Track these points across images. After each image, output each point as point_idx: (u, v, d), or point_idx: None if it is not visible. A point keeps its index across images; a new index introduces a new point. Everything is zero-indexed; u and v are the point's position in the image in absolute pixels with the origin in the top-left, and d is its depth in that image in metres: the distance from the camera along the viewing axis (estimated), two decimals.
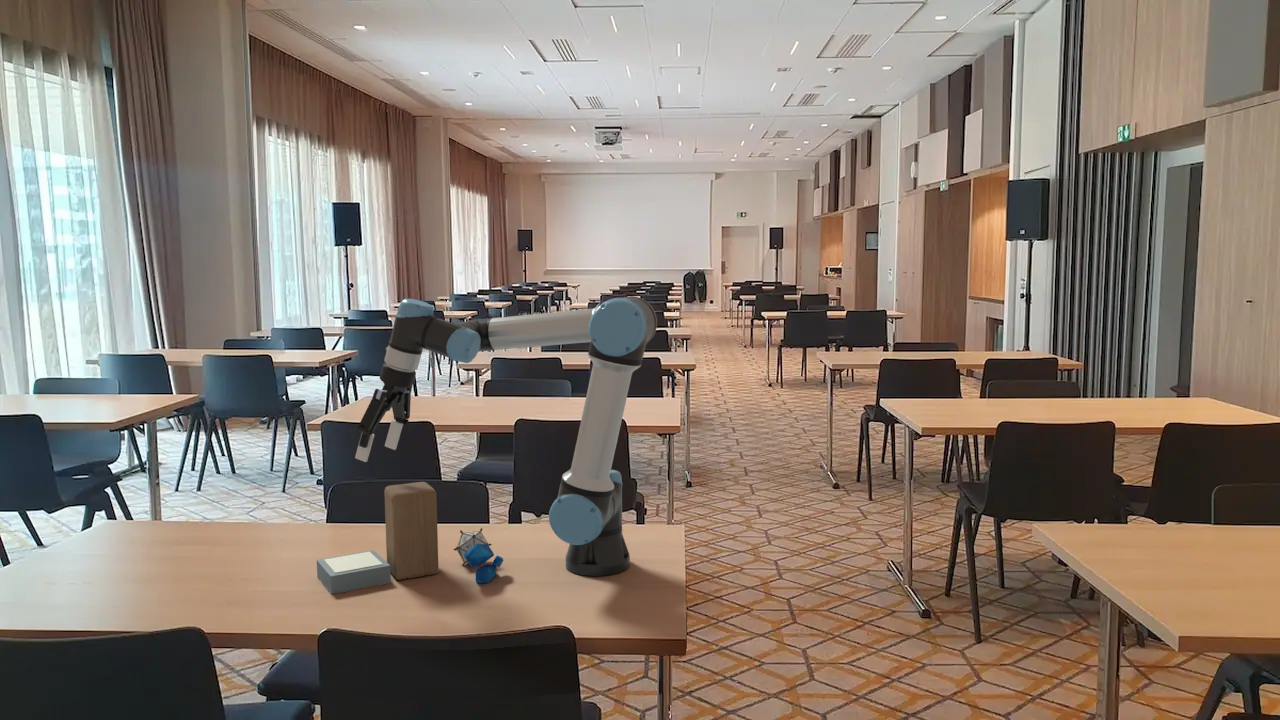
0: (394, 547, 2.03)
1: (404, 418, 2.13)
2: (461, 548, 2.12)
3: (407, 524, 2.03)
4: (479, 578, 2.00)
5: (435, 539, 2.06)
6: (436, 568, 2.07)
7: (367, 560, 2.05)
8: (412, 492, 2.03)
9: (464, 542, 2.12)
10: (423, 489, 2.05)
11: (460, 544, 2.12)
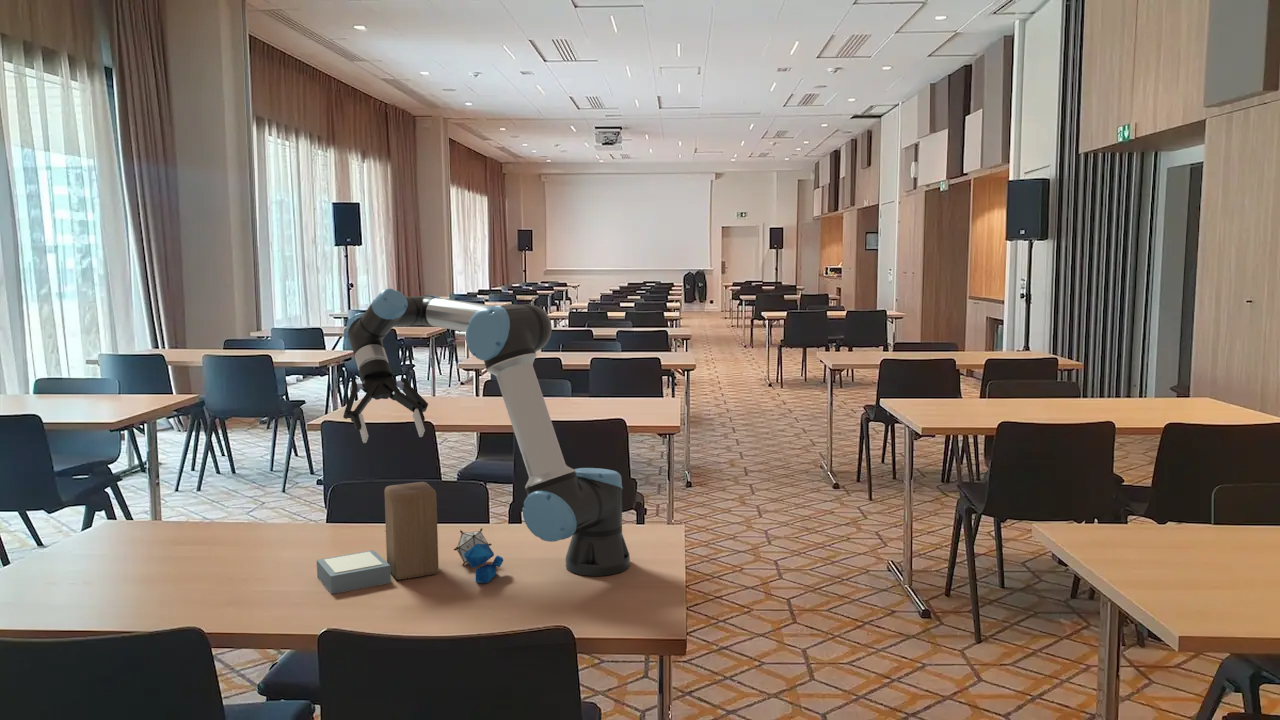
0: (394, 547, 2.03)
1: (417, 404, 2.22)
2: (461, 548, 2.12)
3: (407, 524, 2.03)
4: (479, 578, 2.00)
5: (435, 539, 2.06)
6: (436, 568, 2.07)
7: (367, 560, 2.05)
8: (412, 492, 2.03)
9: (464, 542, 2.12)
10: (423, 489, 2.05)
11: (460, 544, 2.12)
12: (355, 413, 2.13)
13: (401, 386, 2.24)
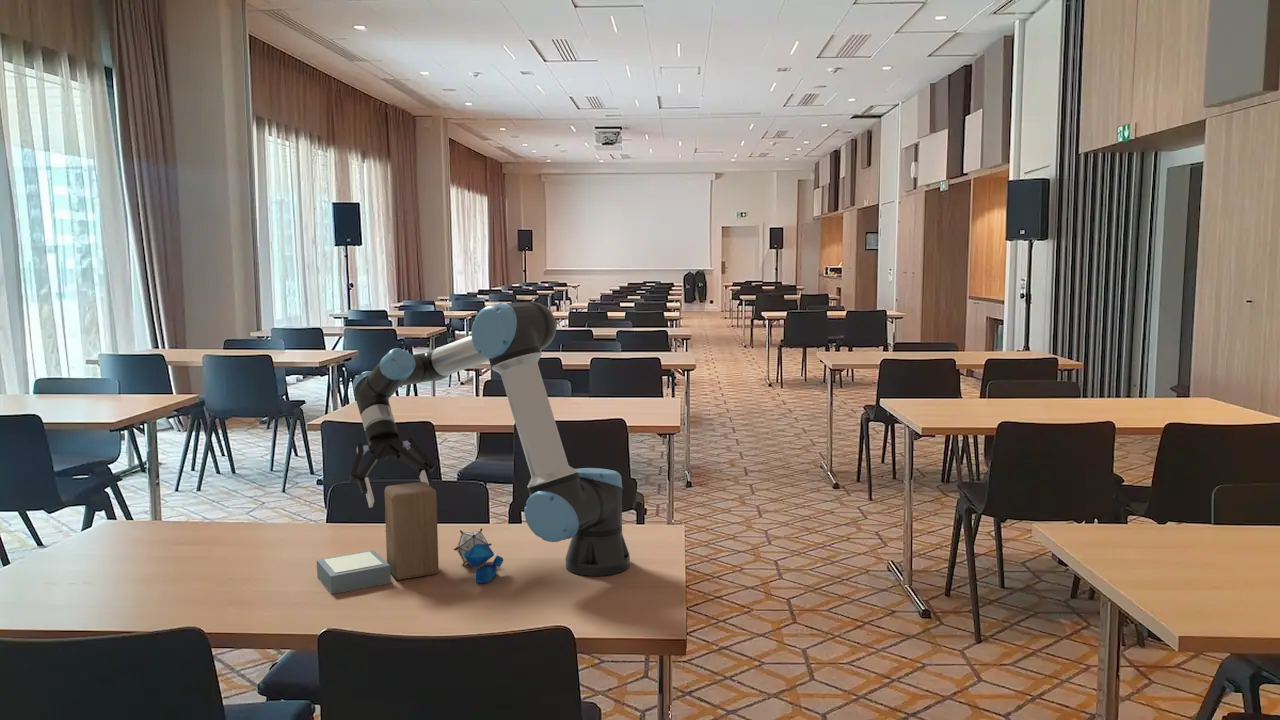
0: (394, 547, 2.03)
1: (424, 465, 2.19)
2: (461, 548, 2.12)
3: (407, 524, 2.03)
4: (479, 578, 2.00)
5: (435, 539, 2.06)
6: (436, 568, 2.07)
7: (367, 560, 2.05)
8: (412, 492, 2.03)
9: (464, 542, 2.12)
10: (423, 489, 2.05)
11: (460, 544, 2.12)
12: (361, 477, 2.11)
13: (408, 446, 2.22)
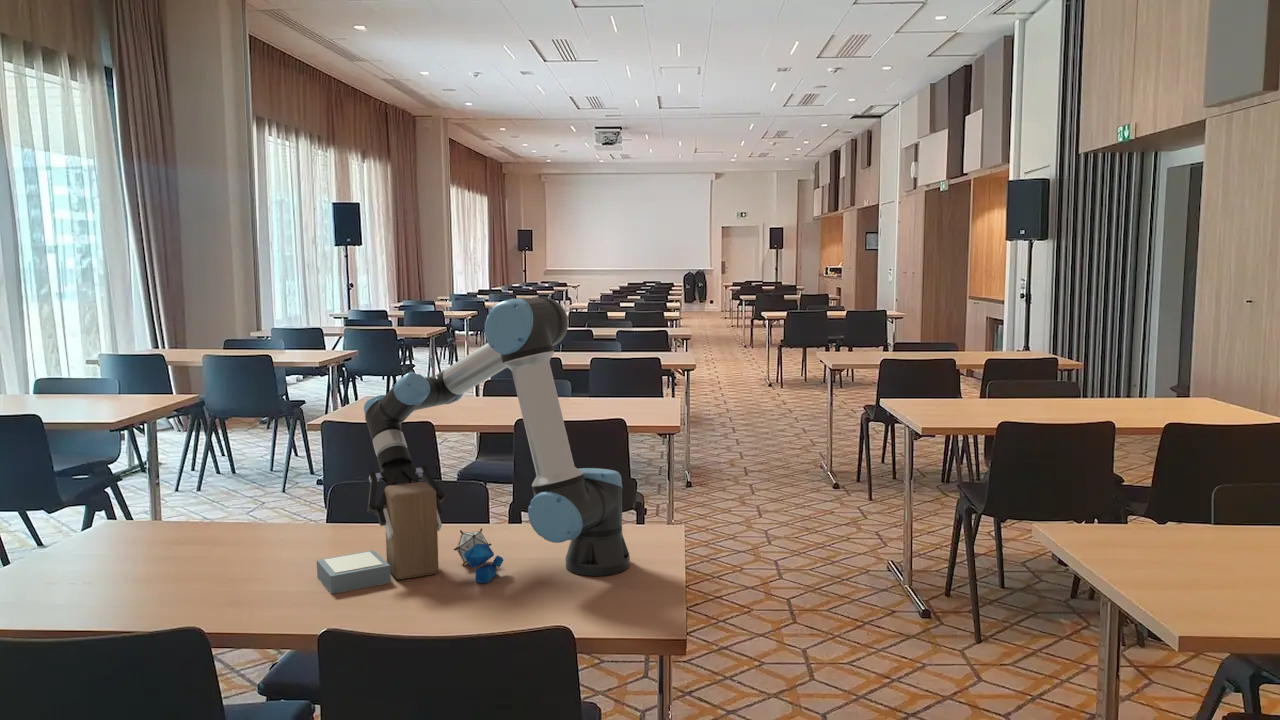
0: (394, 547, 2.03)
1: None
2: (461, 548, 2.12)
3: (407, 524, 2.03)
4: (479, 578, 2.00)
5: (435, 539, 2.06)
6: (436, 568, 2.07)
7: (367, 560, 2.05)
8: (412, 492, 2.03)
9: (464, 542, 2.12)
10: (423, 489, 2.05)
11: (460, 544, 2.12)
12: (380, 508, 2.05)
13: (420, 474, 2.16)
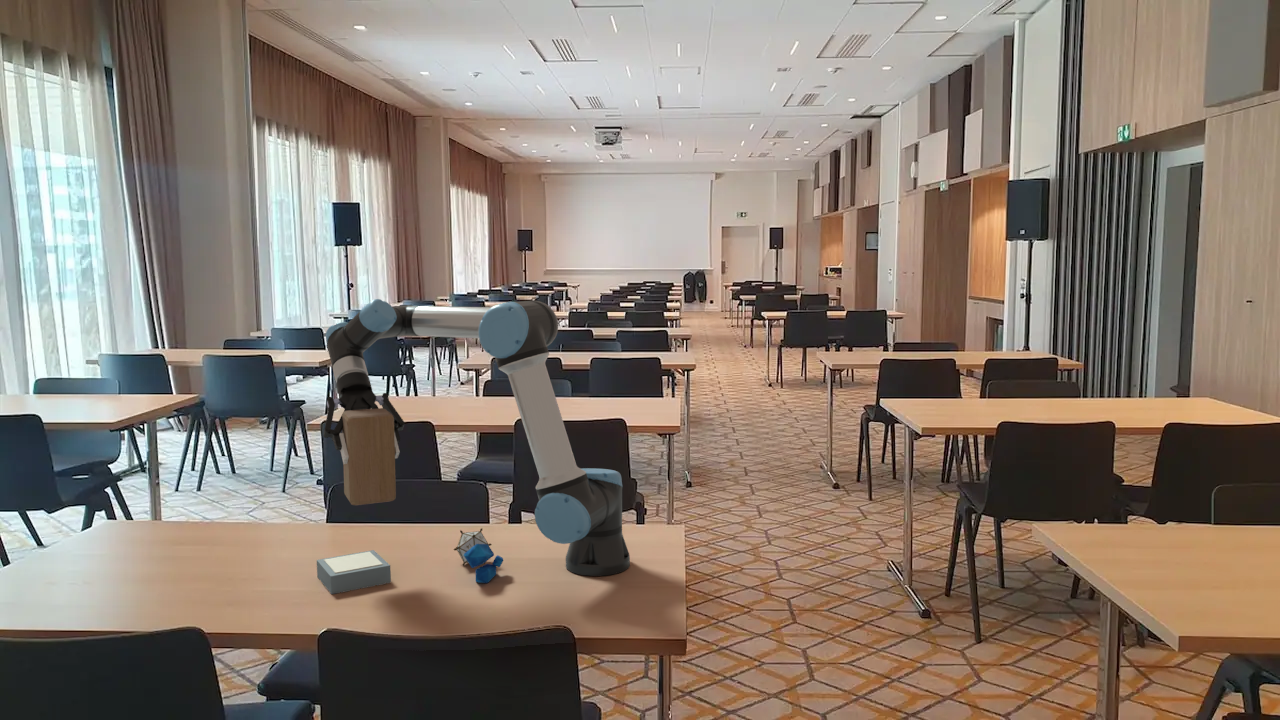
0: (349, 471, 1.98)
1: None
2: (461, 548, 2.12)
3: (363, 448, 1.98)
4: (479, 578, 2.00)
5: (392, 465, 2.01)
6: (393, 495, 2.02)
7: (367, 560, 2.05)
8: (369, 416, 1.99)
9: (464, 542, 2.12)
10: (380, 413, 2.01)
11: (460, 544, 2.12)
12: (336, 432, 2.00)
13: (380, 401, 2.11)
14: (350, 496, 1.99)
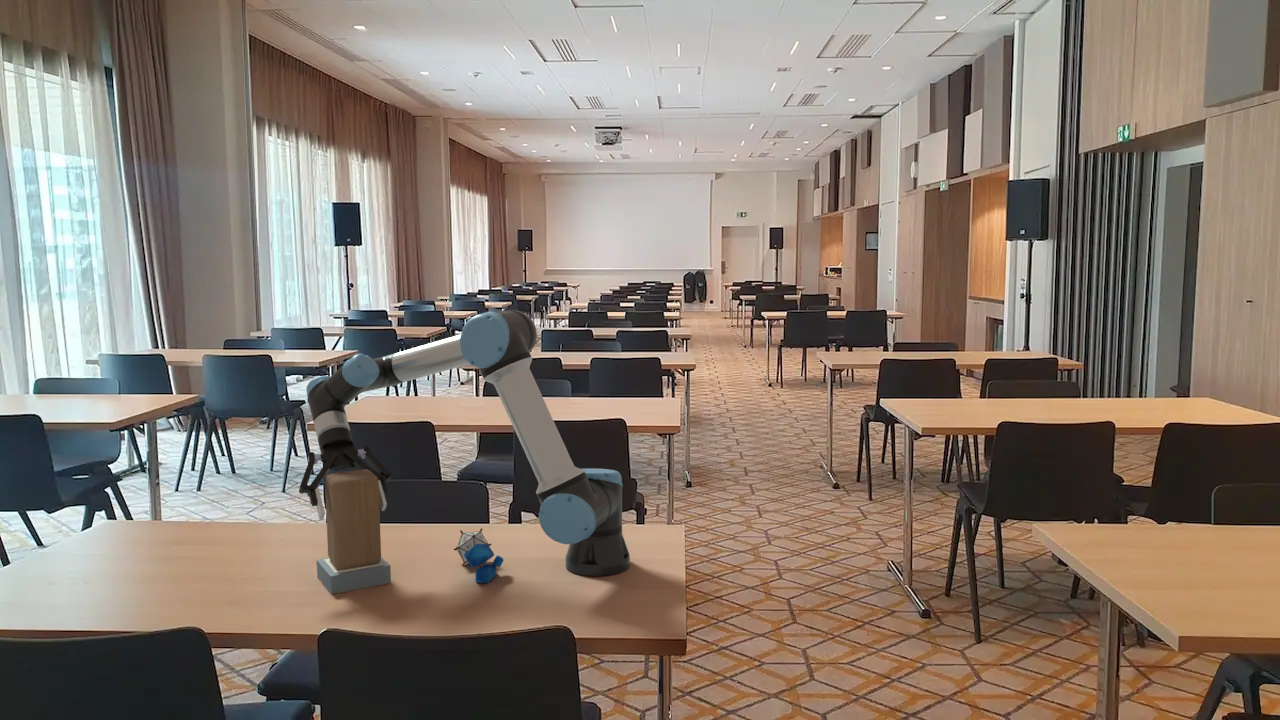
0: (334, 536, 1.97)
1: (379, 475, 2.08)
2: (461, 548, 2.12)
3: (348, 512, 1.97)
4: (479, 578, 2.00)
5: (377, 527, 2.01)
6: (379, 557, 2.02)
7: None
8: (353, 479, 1.98)
9: (464, 542, 2.12)
10: (365, 476, 2.00)
11: (460, 544, 2.12)
12: (311, 488, 1.99)
13: (363, 455, 2.11)
14: (335, 560, 1.98)
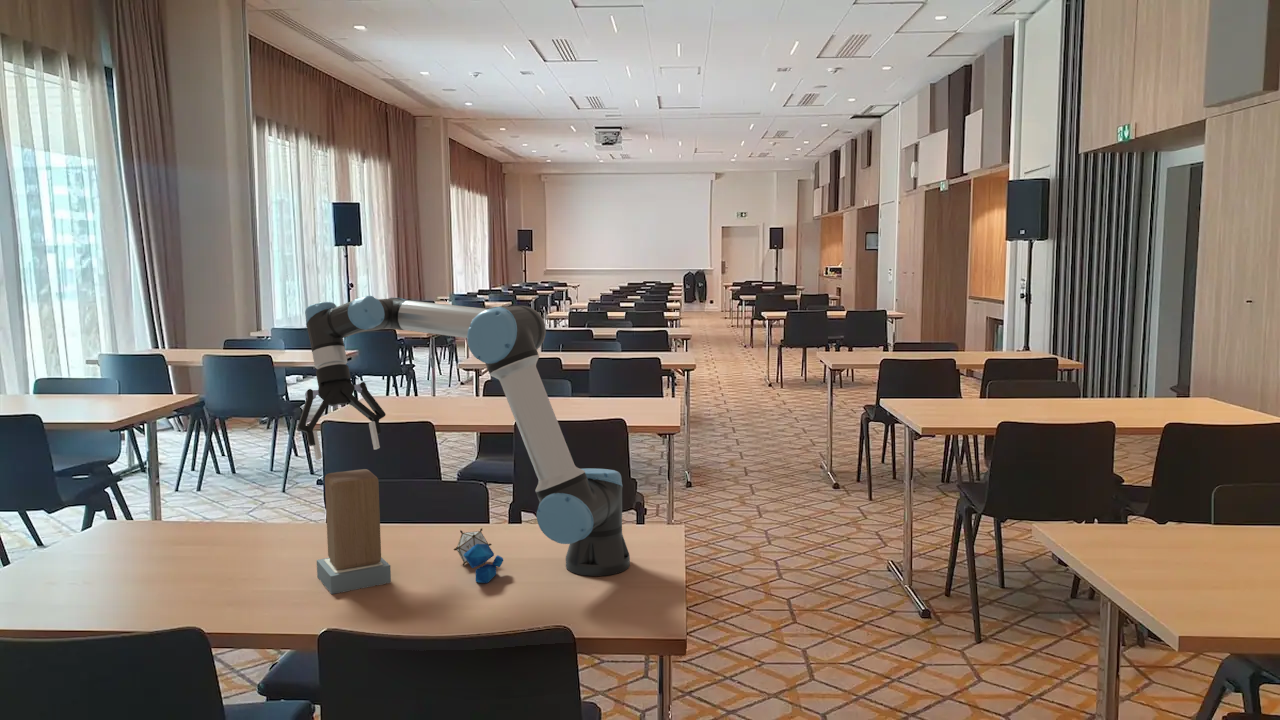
0: (334, 536, 1.97)
1: (374, 415, 2.17)
2: (461, 548, 2.12)
3: (348, 512, 1.97)
4: (479, 578, 2.00)
5: (377, 527, 2.01)
6: (378, 557, 2.02)
7: None
8: (353, 479, 1.98)
9: (464, 542, 2.12)
10: (365, 476, 2.00)
11: (460, 544, 2.12)
12: (309, 430, 2.08)
13: (359, 391, 2.17)
14: (335, 560, 1.98)
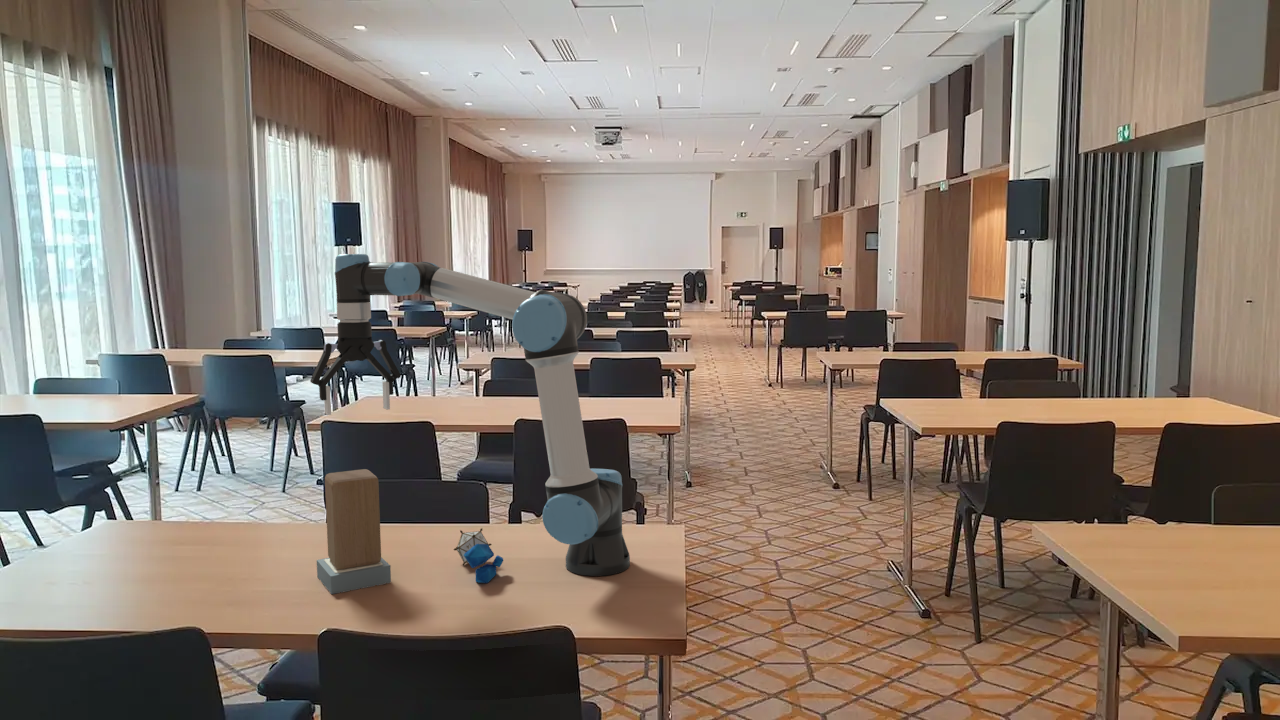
0: (334, 536, 1.97)
1: (389, 376, 2.13)
2: (461, 548, 2.12)
3: (348, 512, 1.97)
4: (479, 578, 2.00)
5: (377, 527, 2.01)
6: (378, 557, 2.02)
7: None
8: (353, 479, 1.98)
9: (464, 542, 2.12)
10: (365, 476, 2.00)
11: (460, 544, 2.12)
12: (323, 385, 2.05)
13: (378, 349, 2.12)
14: (335, 560, 1.98)
